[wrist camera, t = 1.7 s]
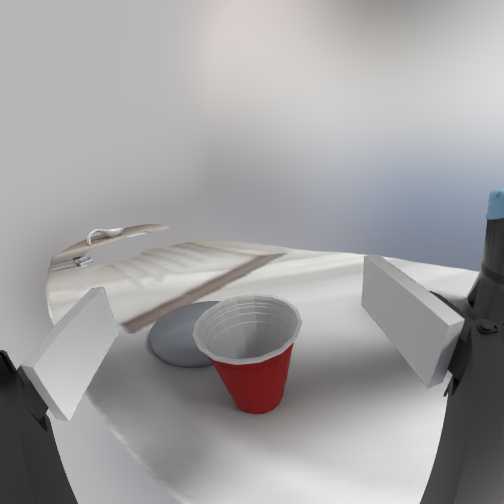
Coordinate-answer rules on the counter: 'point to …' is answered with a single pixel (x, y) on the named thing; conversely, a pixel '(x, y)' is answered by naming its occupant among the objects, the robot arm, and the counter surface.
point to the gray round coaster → (180, 336)
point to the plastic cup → (250, 347)
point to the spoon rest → (108, 233)
